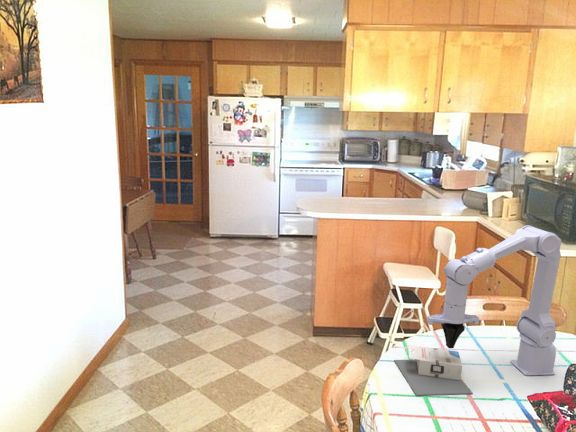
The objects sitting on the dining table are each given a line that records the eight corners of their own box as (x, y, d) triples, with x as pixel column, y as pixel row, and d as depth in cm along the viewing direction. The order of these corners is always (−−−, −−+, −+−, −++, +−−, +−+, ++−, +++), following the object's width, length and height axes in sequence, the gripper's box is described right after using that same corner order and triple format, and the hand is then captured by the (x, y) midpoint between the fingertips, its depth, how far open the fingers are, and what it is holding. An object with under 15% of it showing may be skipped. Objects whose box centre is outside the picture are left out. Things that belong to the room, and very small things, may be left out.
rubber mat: (443, 360, 144) (444, 358, 144) (472, 394, 126) (472, 392, 126) (394, 361, 142) (394, 359, 142) (416, 396, 125) (416, 394, 124)
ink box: (456, 365, 140) (406, 358, 143) (458, 351, 139) (407, 344, 142) (460, 381, 132) (407, 373, 135) (462, 365, 131) (409, 358, 134)
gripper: (472, 296, 134) (466, 339, 137) (424, 296, 133) (420, 340, 136) (485, 306, 128) (479, 351, 131) (434, 306, 126) (429, 352, 129)
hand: (449, 346), depth 133 cm, fingers closed
